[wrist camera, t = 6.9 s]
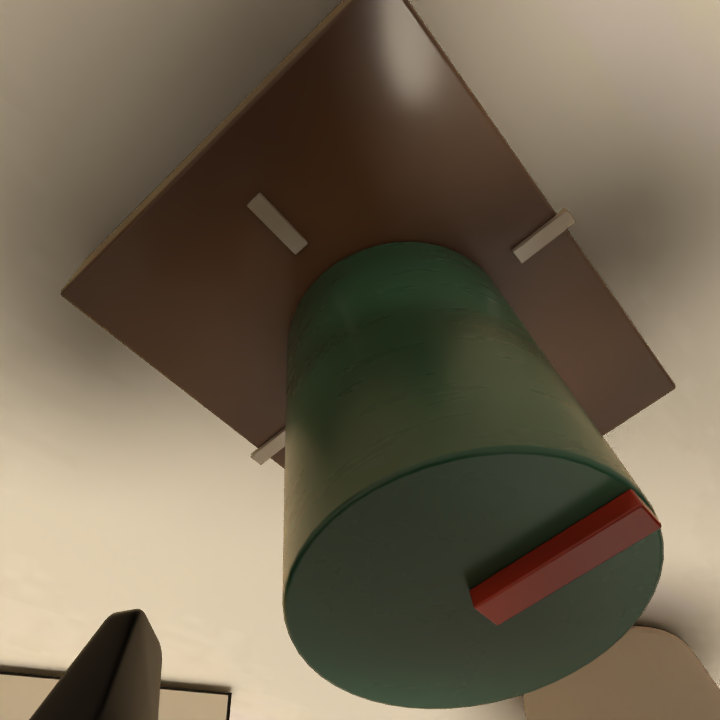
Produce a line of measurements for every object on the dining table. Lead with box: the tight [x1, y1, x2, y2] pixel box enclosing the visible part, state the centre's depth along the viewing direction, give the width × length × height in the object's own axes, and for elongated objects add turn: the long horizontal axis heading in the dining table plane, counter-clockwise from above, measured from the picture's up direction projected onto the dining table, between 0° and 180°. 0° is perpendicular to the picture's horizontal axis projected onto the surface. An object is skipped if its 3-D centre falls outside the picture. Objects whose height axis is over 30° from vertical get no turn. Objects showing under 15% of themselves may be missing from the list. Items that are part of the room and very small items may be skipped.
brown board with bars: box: [61, 0, 675, 469], centre depth 15 cm, size 12×9×2 cm
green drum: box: [283, 242, 664, 709], centre depth 11 cm, size 5×5×7 cm
